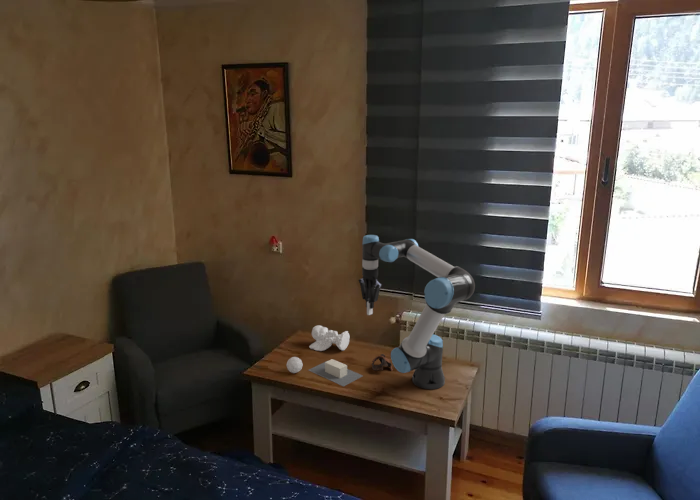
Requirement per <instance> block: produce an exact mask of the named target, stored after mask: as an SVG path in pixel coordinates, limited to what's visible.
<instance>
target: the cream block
mask: <svg viewBox="0 0 700 500" xmlns="http://www.w3.org/2000/svg"><path fill="white" fill-rule="evenodd" d="M326 361H327V362H326ZM326 361H324V362H325V372H327V373H329V374H331V375H334V376H336V377H338V378H342V377H344V376H346V375H347V369H348V364H345V363H342V362H340V361H338V360H336V359H332V358H331V359H330V360H326Z"/></svg>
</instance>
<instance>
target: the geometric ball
mask: <svg viewBox="0 0 700 500" xmlns="http://www.w3.org/2000/svg"><path fill="white" fill-rule="evenodd" d="M286 368H287V371H289V372H290V373H291V374H296V373H298V372H300V371H301V370H302V368H303V361H302V359H301V358H299V357H298V356H292V357H290V358H289V359H288V360H287V362H286Z"/></svg>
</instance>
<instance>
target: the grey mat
mask: <svg viewBox="0 0 700 500" xmlns="http://www.w3.org/2000/svg"><path fill="white" fill-rule="evenodd" d="M327 361H328V360H326V361H324V362H322V363H320V364H317V365H316V366H314V367H312V368H309V369H308V371H309V372H311V373H314V374H316V375H317V376H320V377H322V378H324V379H326V380H328V381H330V382H333V383H335V384H338V385H339V386H341V387H345V386H347V385H349V384H352V383H353V382H355V381H356V380H359V379H360V378H362V377H364V375H362V374H360V373H358V372H356V371H353V370H352V369H348V368H347V375H346V376H344V377H342V378H338V377H336V376H334V375H331V374H329V373H327V372H325V362H327Z"/></svg>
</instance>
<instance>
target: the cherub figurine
mask: <svg viewBox="0 0 700 500" xmlns="http://www.w3.org/2000/svg"><path fill="white" fill-rule="evenodd" d="M311 336H312V338H313V339H314V340H315V341H314V342H313V343H311V344H310V345H309V346H308V347H309V348H310V350H315V351H319V352H322V351H323V352H324V351H326V350H327V349H329V348H330V347H332V344H335V345H336V347H337V348H338V349H339V350H341V351H345V350H346V349H347V348H348V346H349V344H350V338H351V337H350V333H349V331H348V330H345V331H343V332H341V334H339V333H338V331H337V330H332V329H329V328H328V327H326V326H323V325H320V324H318V325H315V326H314V327H312V330H311Z"/></svg>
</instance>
